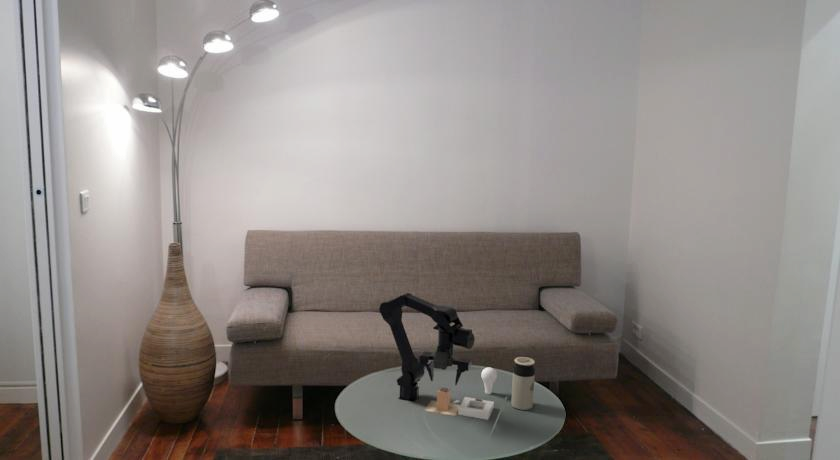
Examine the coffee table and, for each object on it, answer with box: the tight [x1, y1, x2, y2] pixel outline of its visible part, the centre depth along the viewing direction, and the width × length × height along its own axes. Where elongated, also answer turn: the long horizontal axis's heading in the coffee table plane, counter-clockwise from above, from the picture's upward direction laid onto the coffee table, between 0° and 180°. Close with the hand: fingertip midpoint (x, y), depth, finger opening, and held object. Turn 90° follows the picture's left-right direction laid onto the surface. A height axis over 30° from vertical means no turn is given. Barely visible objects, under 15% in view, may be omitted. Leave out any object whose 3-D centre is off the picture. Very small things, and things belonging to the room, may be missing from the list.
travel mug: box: [510, 356, 536, 411], centre depth 226 cm, size 8×8×18 cm
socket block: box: [457, 396, 495, 421], centre depth 221 cm, size 11×10×4 cm
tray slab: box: [423, 399, 461, 417], centre depth 223 cm, size 12×9×1 cm
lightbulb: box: [480, 366, 498, 395], centre depth 236 cm, size 6×6×11 cm
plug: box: [436, 386, 452, 411], centre depth 222 cm, size 4×4×7 cm
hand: (444, 382), depth 221 cm, fingers open, 9 cm apart
